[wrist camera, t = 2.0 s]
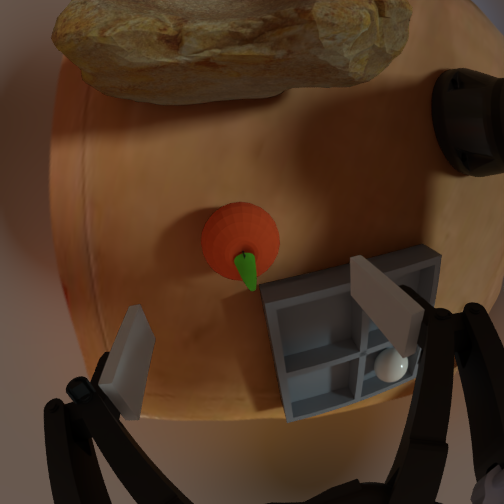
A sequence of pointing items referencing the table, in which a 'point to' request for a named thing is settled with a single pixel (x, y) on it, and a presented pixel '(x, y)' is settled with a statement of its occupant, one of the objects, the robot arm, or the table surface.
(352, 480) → the robot arm
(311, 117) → the table surface
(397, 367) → the cream egg
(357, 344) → the divided tray
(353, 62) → the rough brown rock
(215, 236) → the clementine
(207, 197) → the table surface
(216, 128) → the table surface
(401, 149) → the table surface
